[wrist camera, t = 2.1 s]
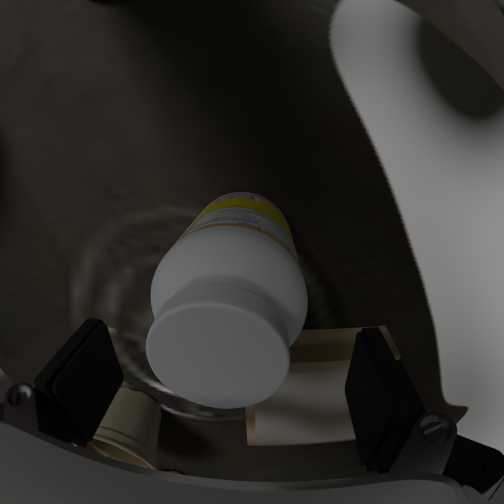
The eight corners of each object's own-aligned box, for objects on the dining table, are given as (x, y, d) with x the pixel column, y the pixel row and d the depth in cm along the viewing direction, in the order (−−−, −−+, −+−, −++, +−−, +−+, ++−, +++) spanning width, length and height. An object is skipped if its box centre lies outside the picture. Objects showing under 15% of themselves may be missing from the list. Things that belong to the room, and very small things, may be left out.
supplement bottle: (247, 295, 22) (229, 442, 10) (178, 239, 21) (90, 356, 9) (310, 233, 20) (362, 359, 8) (238, 169, 19) (191, 218, 7)
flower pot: (188, 403, 28) (171, 469, 20) (161, 435, 31) (146, 488, 23) (109, 362, 26) (75, 422, 18) (96, 401, 29) (70, 451, 21)
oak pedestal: (246, 330, 23) (242, 365, 19) (385, 325, 23) (402, 357, 19) (249, 415, 28) (247, 447, 24) (358, 410, 27) (365, 440, 23)
